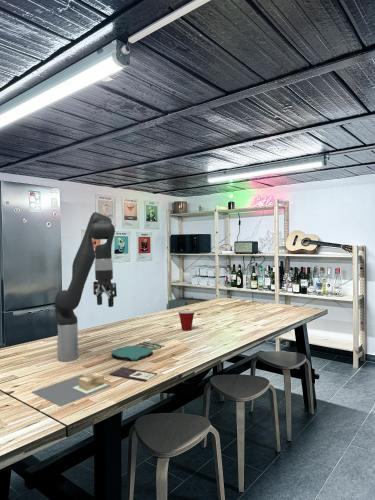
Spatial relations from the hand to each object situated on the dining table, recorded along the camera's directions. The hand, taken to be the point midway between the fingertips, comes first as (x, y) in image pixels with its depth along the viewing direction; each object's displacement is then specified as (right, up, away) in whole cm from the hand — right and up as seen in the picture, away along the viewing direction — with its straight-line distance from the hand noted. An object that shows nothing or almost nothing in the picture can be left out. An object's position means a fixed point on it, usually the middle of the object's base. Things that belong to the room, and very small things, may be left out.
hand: (105, 305), depth 157 cm
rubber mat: (-8, -29, -21) cm, 37 cm away
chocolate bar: (+13, -29, -6) cm, 32 cm away
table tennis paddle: (+11, -28, +27) cm, 40 cm away
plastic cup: (+36, -27, +71) cm, 84 cm away
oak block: (-1, -28, -19) cm, 34 cm away
